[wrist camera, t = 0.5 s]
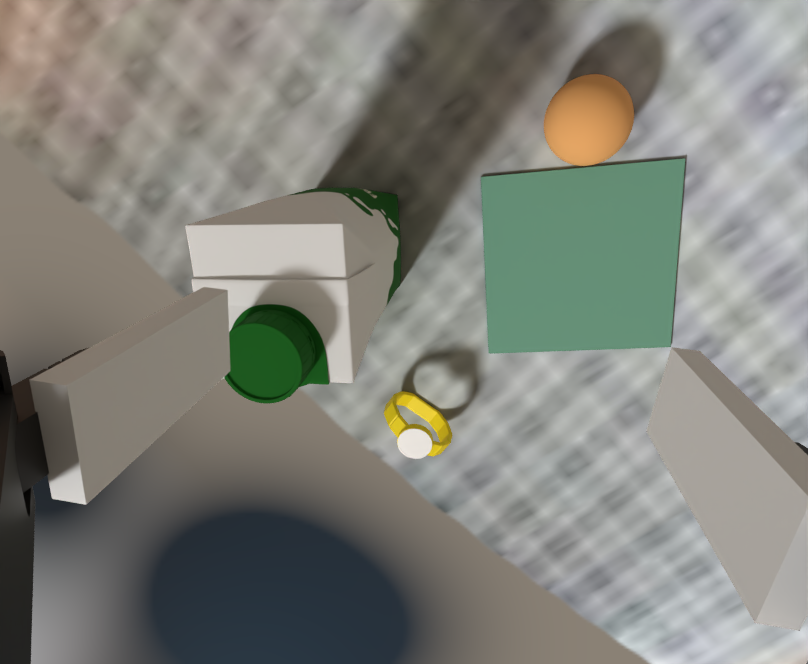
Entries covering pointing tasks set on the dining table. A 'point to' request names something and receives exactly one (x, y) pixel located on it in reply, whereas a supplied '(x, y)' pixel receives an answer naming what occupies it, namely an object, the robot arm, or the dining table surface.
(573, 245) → the green mark
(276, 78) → the dining table surface
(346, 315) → the milk carton
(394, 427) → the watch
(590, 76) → the ball orange
